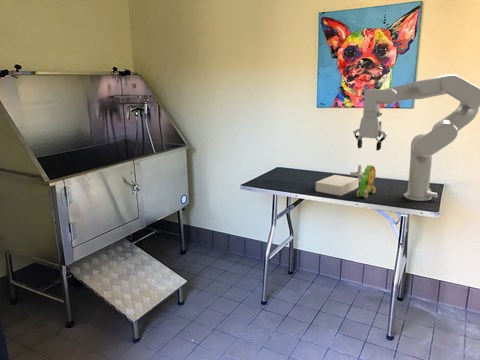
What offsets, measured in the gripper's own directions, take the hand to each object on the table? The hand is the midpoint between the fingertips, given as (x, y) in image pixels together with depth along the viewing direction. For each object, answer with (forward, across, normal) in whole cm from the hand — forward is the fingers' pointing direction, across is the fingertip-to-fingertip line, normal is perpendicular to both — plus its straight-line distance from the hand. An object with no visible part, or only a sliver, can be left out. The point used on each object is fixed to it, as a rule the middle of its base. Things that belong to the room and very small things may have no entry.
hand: (368, 149), depth 200 cm
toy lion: (+24, 0, 0) cm, 24 cm away
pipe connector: (+24, +14, -20) cm, 34 cm away
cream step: (+24, +16, 0) cm, 29 cm away
